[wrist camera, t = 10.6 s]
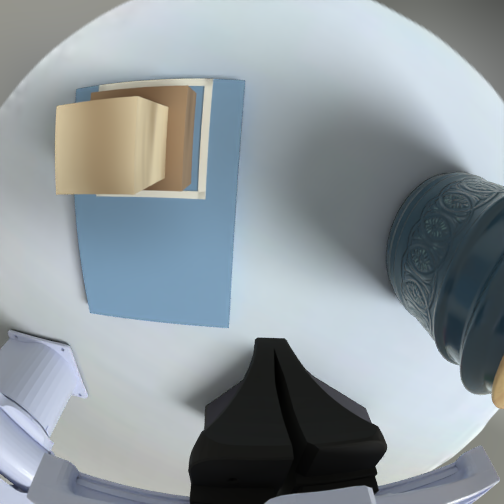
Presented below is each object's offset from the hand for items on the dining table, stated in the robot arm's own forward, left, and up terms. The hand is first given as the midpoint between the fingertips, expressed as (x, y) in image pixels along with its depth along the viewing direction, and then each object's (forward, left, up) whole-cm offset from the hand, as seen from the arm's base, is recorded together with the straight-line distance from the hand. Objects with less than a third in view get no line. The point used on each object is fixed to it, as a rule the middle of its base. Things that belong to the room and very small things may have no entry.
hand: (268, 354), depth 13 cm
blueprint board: (-8, +4, -10) cm, 13 cm away
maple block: (-8, +9, -6) cm, 13 cm away
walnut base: (-8, +9, -9) cm, 15 cm away
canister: (+16, +3, -10) cm, 19 cm away
